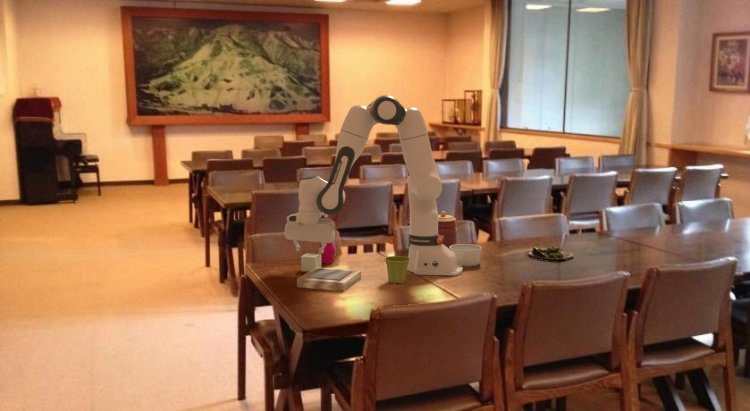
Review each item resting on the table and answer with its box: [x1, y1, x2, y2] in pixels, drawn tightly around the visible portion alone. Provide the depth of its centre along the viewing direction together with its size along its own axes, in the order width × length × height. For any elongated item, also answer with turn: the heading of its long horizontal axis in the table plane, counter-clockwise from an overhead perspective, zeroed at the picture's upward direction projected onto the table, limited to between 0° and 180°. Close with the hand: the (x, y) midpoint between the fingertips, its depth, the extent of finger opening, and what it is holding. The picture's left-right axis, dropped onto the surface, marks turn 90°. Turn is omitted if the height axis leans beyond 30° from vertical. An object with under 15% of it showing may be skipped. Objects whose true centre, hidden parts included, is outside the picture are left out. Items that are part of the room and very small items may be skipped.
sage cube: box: [300, 252, 322, 272], centre depth 266 cm, size 6×6×6 cm
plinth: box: [296, 267, 362, 292], centre depth 247 cm, size 18×18×3 cm
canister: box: [438, 210, 459, 249], centre depth 301 cm, size 13×13×18 cm
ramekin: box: [449, 243, 483, 267], centre depth 277 cm, size 13×13×7 cm
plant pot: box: [384, 255, 410, 284], centre depth 248 cm, size 9×9×9 cm
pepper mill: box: [317, 214, 336, 264], centre depth 278 cm, size 7×7×20 cm
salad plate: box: [524, 246, 574, 262], centre depth 290 cm, size 19×18×5 cm
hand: (309, 252), depth 265 cm, fingers open, 8 cm apart
